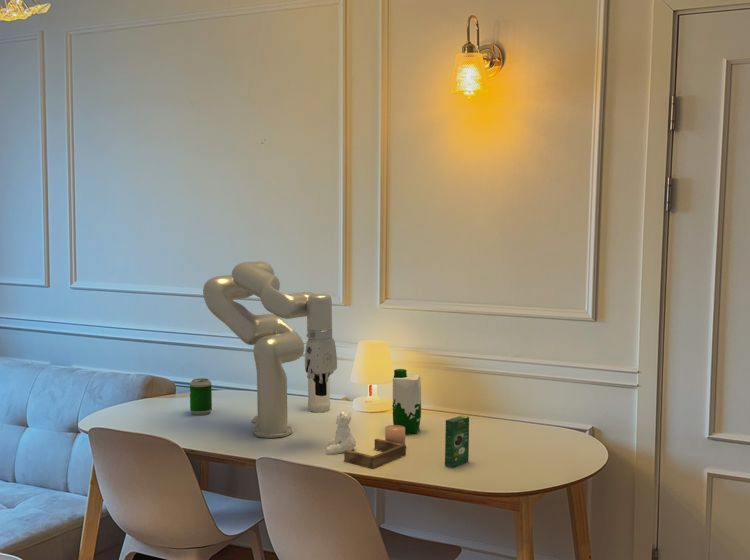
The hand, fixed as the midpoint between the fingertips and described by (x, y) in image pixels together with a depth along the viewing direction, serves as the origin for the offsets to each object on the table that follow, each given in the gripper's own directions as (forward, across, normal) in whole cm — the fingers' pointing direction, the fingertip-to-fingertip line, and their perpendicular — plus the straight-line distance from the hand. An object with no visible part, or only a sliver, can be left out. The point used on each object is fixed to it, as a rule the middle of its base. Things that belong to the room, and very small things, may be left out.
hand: (321, 395), depth 226 cm
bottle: (+15, +31, +29) cm, 45 cm away
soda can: (+15, +2, +59) cm, 61 cm away
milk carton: (+16, +28, -12) cm, 34 cm away
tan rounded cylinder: (+16, +12, -19) cm, 27 cm away
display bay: (+16, 0, -20) cm, 26 cm away
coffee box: (+16, +10, -42) cm, 46 cm away
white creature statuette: (+16, 0, -8) cm, 18 cm away
